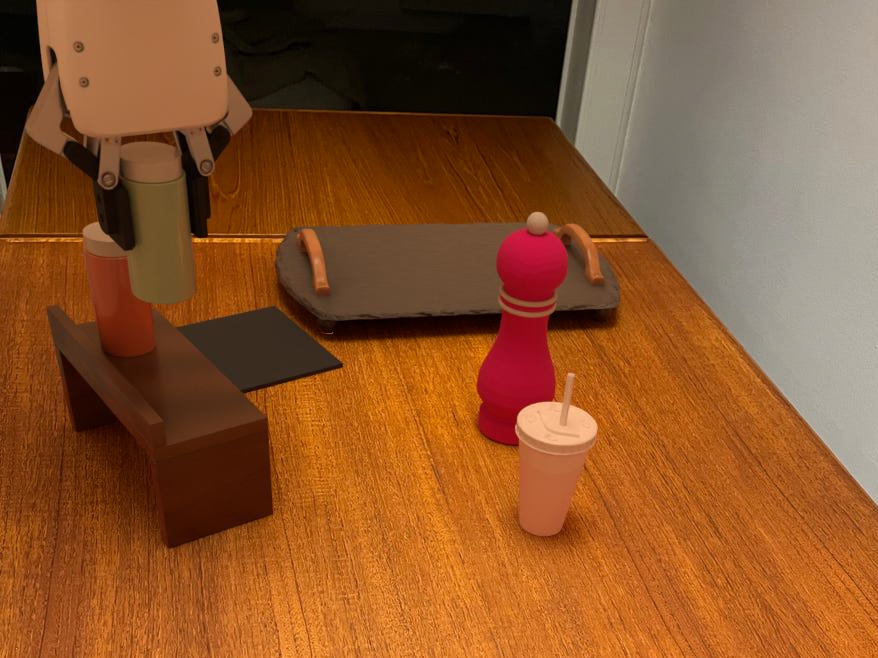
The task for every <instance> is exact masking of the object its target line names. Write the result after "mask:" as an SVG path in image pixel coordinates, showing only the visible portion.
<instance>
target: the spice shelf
mask: <svg viewBox="0 0 878 658" xmlns="http://www.w3.org/2000/svg"><path fill="white" fill-rule="evenodd" d="M45 309H46V314H47V318H48V324H49V327H50V328H49V329H50V332H51V338H52V342H53V346H54V351H55V356H56V360H57V364H58V370H59V373H60V379H61V384H62V388H63V393H64V397H65V402H66V407H67V411H68V416H69V420H70V421H69V422H70V425H71V426H72V428H73V429H74V430H75V431H76V432H79V431H83V430H88V429H92V428H96V427H99V426H103V425H106V424H110V423H113V422H117V421H120V423H121V424H122V425H123V426H124V428H126V430H127V431H128V432H129V433H130V434H131V435H132V436H133V438H134V439H135V440H136V441H137V442H138V444H139V445H140V447H142V448H143V449H144V451H145V452H146V453H147V454H148V455H149V462H150V469H151V475H152V482H153V487H154V494H155V501H156V507H157V514H158V520H159V526H160V533H161V538H162V539H161V540H162V541H163V543H164V544H165V545H166V546H167V548H168V549H171V548H174V547H177V546H179V545H183V544H186V543H189V542H192V541H195V540H199V539H201V538H203V537H207V536H210V535H213V534H216V533H218V532H219V533H220V532H223V531H225V530H228V529H231V528H234V527H237V526H240V525H244V524H247V523H249V522H252V521H255V520H258V519H261V518H264V517H267V516H270V515H273V514H274V503H273V501H274V500H273V486H272V469H271V453H270V452H271V451H270V436H269V435H270V434H269V421H268V420H269V419H268V416H267V415H266V414H265V413H264V412H263V411H262V410H261V409H260V408H259V407H258V406H257V405H256V404H254V402H252V401H251V400H250V399H249V398H248V397H247V395H245V393H242V392H241V391H240V390H239V389H238V388H237V387H236V386H235V385H234V384H233V383H232V382H231V381H230V380H229V379H228V378H227V377H226V376H225V375H224V374H222V373H221V372H220V371H219V370H218V369H217V368H216V367H215V366H214V365H213V364H212V363H211V362H210V361H209V360H208V359H207V358H206V357H205V356H204V355H203V354H202V353H201V352H200V351H199V350H198V349H197V348H196V347H195V346H194V345H193V344H192V343H191V342H190V341H189V340H188V339H187V338H186V337H185V336H184V335H182V334H181V333H180V332H179V331H178V330H177V329H176V328H175V327H176V326H174V325H173V324H172V323H171V322H170V321H169V319H167V317H165V316H164V315H163V314H162V313H161V312H160V311H159V310H158V309H157V308H155V307H153V308H152V311H153V318H154V325H155V332H156V340H157V345H156V347H155V348H154V349H153V350H152V351H151V352H149V353H147V354H144V355H141V356H136V357H118V356H113V355H110V354H108V353H106V352H104V351H103V350H102V349H101V347H100V342H99V336H98V331H97V325H96V320H91V321H88V322H83V323H78V324H76V322H75V321H74V320H73V319H72V318H71V317H70V315H68V313H67V312H66V311H65V310H64V309H63V308H62V307H61V306H60V305H59V304H58V303H57V304H53V305H48V306H47V305H46V306H45Z"/></svg>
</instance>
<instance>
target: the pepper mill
mask: <svg viewBox="0 0 878 658" xmlns="http://www.w3.org/2000/svg"><path fill="white" fill-rule="evenodd" d="M526 222H527V228H525V229H520V230H518V231H515V232H513V233H512V234H510V235H509V236H508V237H506V239H505V240H504V241H503V242H502V244H501V246H500V248H499V251H498V254H497V260H496V268H497V273H498V275H499V277H500V279H501V280H502V282H503V283H502V284H501V286H500V288H499V292H500V295H499V298H498V303H499V305H500V306H501V308H502V313H501V319H500V324H499V330H498V333H497V336H496V339H495V341H494V343H493V344H492V346H491V347H490V349H489V351H488V353H487V354H486V356H485V358H484V359H483V361H482V363H481V365H480V368H479V370H478V375H477V380H476V392H477V394H478V398H479V399H480V400H481V404H480V405H479V410H478V417H477V418H478V419H477V425H478V429H479V430H480V432H481V433H482V434H483V435H484V436H485V437H487V438H488V439H490V440H492V441H494V442H497V443H499V444H503V445H511V446H519V438H518V436H517V434H516V431H515V426H516V423H517V417H518V414H519V413H520V411H521V410H523V409H524V408H525V407H527V406H529V405H532V404H535V403H541V402H554V398H555V396H556V387H557V379H556V372H555V366H554V364H553V360H552V359H553V358H552V356H551V352H550V347H549V344H548V325H549V324H548V323H549V319H550V316H551V314H553V313H554V312H555V311H554V310H555V309H556V303H555V302H556V300H557V297H558V294H557V291H556V290H555V289H556V288H557V287H559V286H560V285H561V283H562V282H563V281H564V279H565V277H566V274H567V270H568V254H567V251H566V248H565V246H564V245H563V243H562V241H561V240H560V239H559V238H558V237H557V236H556V235H554V234H552V233H551V232H548V231H546V230H547V228H548V223H549V220H548V217H547V215H546V214H545V213H544V212H541V211H534V212H532V213H531V214H530V215H529V216H528V218H527V220H526Z"/></svg>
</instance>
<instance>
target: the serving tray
mask: <svg viewBox="0 0 878 658" xmlns="http://www.w3.org/2000/svg"><path fill="white" fill-rule="evenodd" d="M525 228H527V221H526V222H525V221H517V222H516V221H514V222H471V223H439V222H438V223H437V222H436V223H405V224H378V223H374V224H364V225H362V224H360V225H342V226H338V225H318V226H317V225H316V226H311V225H310V226H308V225H306V226H305V225H304V226H297V227H293V228H291V229H289V230H288V231H287V232H286V234H285V236H284V237H283V239H282V240H281V242H280V243H279V245H278V246H277V250H276V252H275V257H276V258H275V259H274V262H273V265H274V268H275V272H276V276H277V277H278V281H279V284H280V285H282V287H283V288H284V289H285V291H286V293H288V295H290V297H291V298H293V299H294V301H295V302H296V303H298V304H299V305H301V307H303V308H304V309H306V310H307V311H308V312H309V313H311V314H312V315H313V316H314V317H316V318H317V319H316V320H317V321H316V325H317V328H318V329H319V331H320V332H321V331H322V332H324V333H332V332H334V333H335V331H336V330H337V328H338V326H339V322H342V321H357V320H358V321H362V320H363V321H365V320H385V319H404V318H406V319H407V318H410V319H413V318H425V317H454V316H480V315H498V314H501V315H502V308H501V306H500V305H499V303H498V298H499V295H500V292H499V288H500V286H501V284H502V283H503V282H502V280H501V279H500V277H499V275H498V273H497V268H496V260H497V254H498V251H499V248H500V246H501V244H502V242H503V241H504V240H505V239H506V237H508V236H509V235H510V234H512V233H513V232H515V231H518V230H520V229H525ZM546 231H548V232H551V233H552V234H554V235H556V236H557V237H558V238H559V239H560V240H561V241H562V243H563V245H564V246H565V248H566V251H567V254H568V270H567V274H566V277H565V279H564V281H563V282H562V283H561V285H560V286H559V287H557V288H556V289H555V290H556V291H557V294H558V297H557V300H556V302H555V303H556V309H555V310H554V312H569V311H587V310H591V314H592V316H593V320H594V321H596V322H598V323H604V322H607V320H608V319H609V318H610V316H611V315H612V309H616V308H618V307H619V305H620V302H621V300H622V299H621V284H620V281H619V278H618V276H617V275H616V274H615V272H614V269H613V267H612V265H611V263H610V262H609V261H608V260H607V258H606V257H605V256H604V254H601V253H600V252H599V251H598V249H597V247H596V244H595V243H594V241H593V240H592V237H591V236H590V235H589V234H588V233H587V231H585V229H584V228H583V227H581V226H580V225H579V224H577V223H566V224H564V225H563V226H560V225H557V224H553V223H551V222H548V228H547V230H546Z"/></svg>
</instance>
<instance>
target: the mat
mask: <svg viewBox="0 0 878 658" xmlns="http://www.w3.org/2000/svg"><path fill="white" fill-rule="evenodd" d="M174 327H175V328H176V329H177V330H178V331H179V332H180V333H181V334H182V335H184V336H185V337H186V338H187V339H188V340H189V341H190V342H191V343H192V344H193V345H194V346H195V347H196V348H197V349H198V350H199V351H200V352H201V353H202V354H203V355H204V356H205V357H206V358H207V359H208V360H209V361H210V362H211V363H212V364H213V365H214V366H215V367H216V368H217V369H218V370H219V371H220V372H221V373H222V374H224V375H225V376H226V377H227V378H228V379H229V380H230V381H231V382H232V383H233V384H234V385H235V386H236V387H237V388H238V389H239V390H240V391H241V392H242V393H243V394H245V393H249V392H252V391H256V390H260V389H263V388H267V387H272V386H275V385H279V384H284V383H287V382H291V381H294V380H298V379H302V378H305V376H306V377H309V376H312V374H313V375H317V374H320V372H321V373H323V372H324V371H325V372H328V371H333V370H335V369H340V368H343V367H344V363H343V362H342V361H341V360H340V359H339V358H337V357H336V356H335V355H334V354H333V353H332V352H330V351H329V350H328V349H327V348H326V347H324V346H323V344H321V343H320V342H318V340H316V339H315V338H314V337H313V336H311V334H309V333H308V332H306V330H304V329H303V328H302V327H301V326H300V325H298V324H297V323H296V322H295V321H294V320H292V319H291V318H290V317H289V316H287V314H286V313H284V312H283V311H282V310H280V309H279V308H278V307H277V306H276V305H272V306H271V305H270V306H266V307H261V308H256V309H253V310H248V311H243V312H239V313H234V314H230V315H229V314H228V315H225V316H222V317H217V318H212V319H208V320H202V321H197V322H194V323H189V324H184V325H181V326H180V325H179V326H174ZM325 372H324V373H325ZM316 373H317V374H316ZM308 375H309V376H308ZM301 377H302V378H301ZM297 378H298V379H297Z"/></svg>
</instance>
